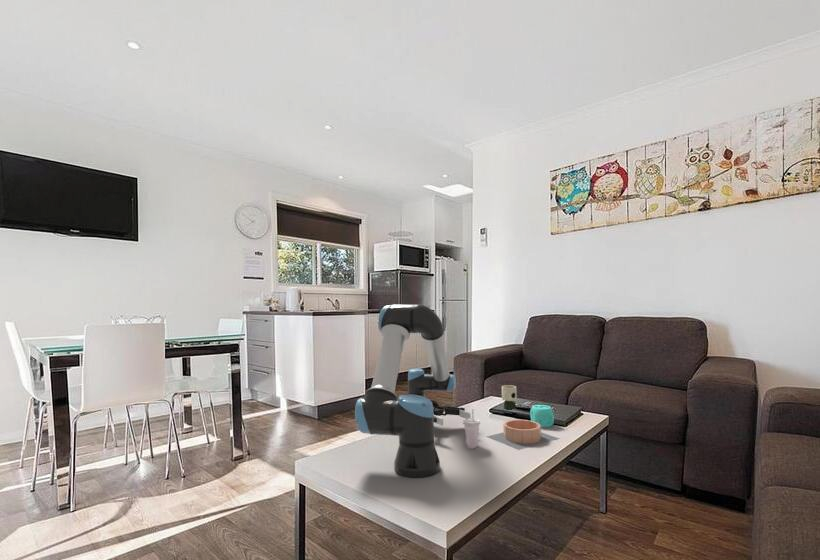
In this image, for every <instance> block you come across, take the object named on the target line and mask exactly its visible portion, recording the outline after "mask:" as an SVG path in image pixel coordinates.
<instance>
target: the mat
mask: <svg viewBox="0 0 820 560" xmlns="http://www.w3.org/2000/svg"><path fill="white" fill-rule="evenodd" d="M485 437H486V438H488V439H491V440H494V441H496V442H498V443H500V444H504V445H506V446H508V447H510V448H513V449H516V450H517V451H520V450H523V449H526V448H527V449H528V448H531V447H535V446H538V445H543V444H544V443H545V444H546V443H549V442H553V441H557V440H560V438H559V437H556V436H553V435H550V434H547V433H544V432H542V431H541V440H540V441H539V442H536V443H528V444H523V443H515V442H511V441H508V440H506V439H505V438H504V431H503V432H499V433H495V434H491V435H486V436H485Z"/></svg>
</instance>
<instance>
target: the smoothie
mask: <svg viewBox="0 0 820 560" xmlns="http://www.w3.org/2000/svg"><path fill="white" fill-rule="evenodd" d="M462 422H463V425H464V433H465V439H466V440H465V441H466V446H467V448H468V449H477V447H478V444H479V431H480V424H481V420H480V419H477V418H475V417H474V409H473V408H472V409H471V419H465V418H464V419H463V421H462Z"/></svg>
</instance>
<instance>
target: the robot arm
mask: <svg viewBox="0 0 820 560" xmlns="http://www.w3.org/2000/svg"><path fill="white" fill-rule="evenodd" d="M377 325H378V330H379V332H380V333H381V335H382V341H381V346H380V350H379V353H378V358H377V362H376V367H375V370H374V373H373V374H374V375H373V378H372V383H371V386H370V388H368V389H366V391H365V392H364V397H359V398H358V399H356V403H355V406H354V407H355V409H354V419H355V424H356V426H357V430H358V431H359V432H361V434H367V435H372V436H373V435H378V436H379V435H384V436H398V442H399V443H398V448H397V451H396V456H395V459H394V462H393V463H394V468H393V469H394V472H395V473H397V474H398V473H399V474H398V475H400V476H402V475H403V477H408V478H425V477H426V478H427V477H430V476H433V475H436V474H437V473H438V472H439V471H440V469H441V462H440V458H439V454H438V451H437V449H436V446H435V433H434V432H435V430H434V429H435V428H434V427H435V426H434V423H435V424H437V425H438V426H441V427H443V426H444V418H442V417H441V416H447V415H448V416H459V417H460V418H463V419H464V420H465V419H472V412H469V411H466V410H465V407H457V406H450V405H447V404H445V405H444V406H442V405H439V404H438V402H437V401H435V400H432V399H430V398H428V397H425V392H426V391H428V392H431V391H432V392H444V393H445V392H454V391H455V390H456V385H457V380H456V379H457V378H456V376H455V374H451V373H450V369H449V364H448V360H447V353H446V349H445V342H444V338H443V336H444V334H445V331H444V330H445V329H444V324H443V322H442V320H441V318H440V316H438V314H437V313H436V312H435V311H434V310H433V309H432V308H430V307H429V306H426V305H425V304H420V303H417V304H394V303H393V304H389V305H385V306H383V307H382V308H381V309H380V311H379V315H378V323H377ZM411 334H420V336H421V338H422V339H423V340H424V342H425V343H424V344H425V346H426V350H427V355H428V360H429V364H430V368H431V373H425V370H424V369H421V368H413V369H411V368H410V369H409V371H408V373H407V387H408V389H407V390H408V392H407V393H408V394H400V395H399V396H398V395H397V394H396V393H395V391H396V386H397V382H398V381H397V380H398V376H399V372H400V366H401V361H402V357H403V351H404V348H405V347H404V345H405V342H407V341H408V340H409V339H410V335H411Z"/></svg>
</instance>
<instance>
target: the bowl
mask: <svg viewBox="0 0 820 560" xmlns="http://www.w3.org/2000/svg"><path fill="white" fill-rule="evenodd" d="M502 428H503V429H502V430H503V432H504V438H505V439H506V440H508V441H511V442H515V443H523V444H528V443H536V442H539V441H540V440H541V432H542V427H541V425H540V424H539V423H537V422H534V421H531V420H528V419H511V420H506V421H504V422H503V427H502Z"/></svg>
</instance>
